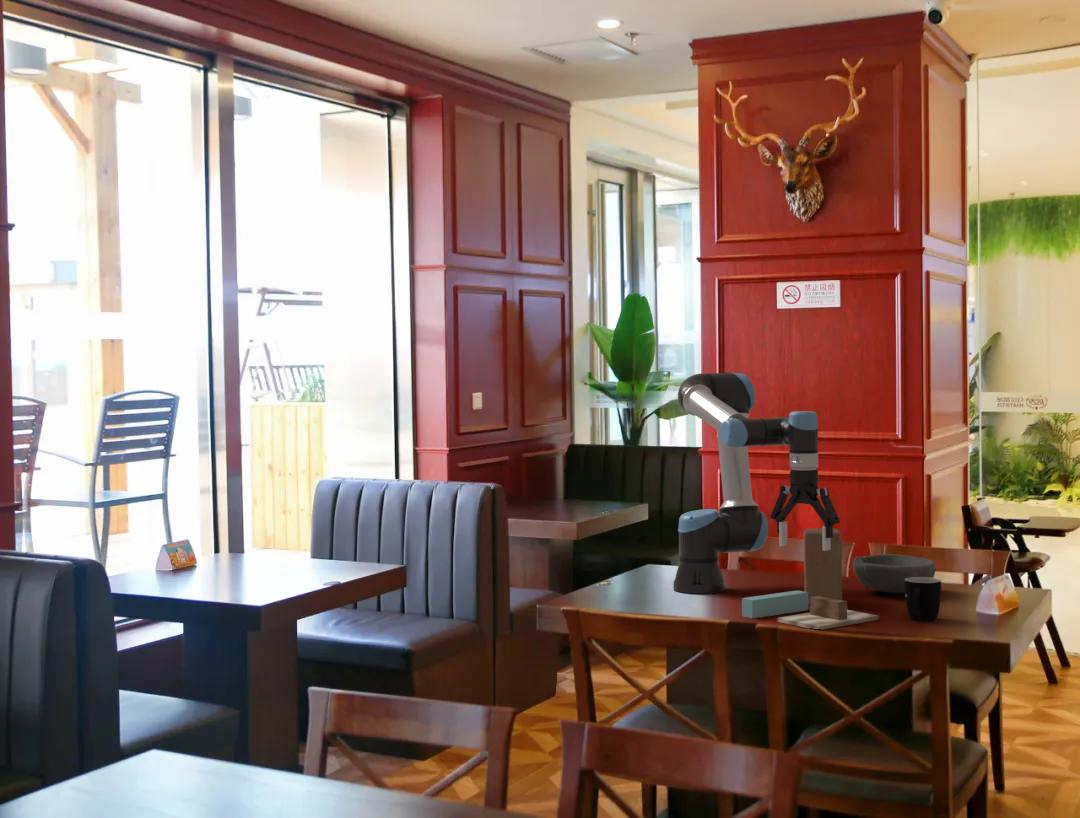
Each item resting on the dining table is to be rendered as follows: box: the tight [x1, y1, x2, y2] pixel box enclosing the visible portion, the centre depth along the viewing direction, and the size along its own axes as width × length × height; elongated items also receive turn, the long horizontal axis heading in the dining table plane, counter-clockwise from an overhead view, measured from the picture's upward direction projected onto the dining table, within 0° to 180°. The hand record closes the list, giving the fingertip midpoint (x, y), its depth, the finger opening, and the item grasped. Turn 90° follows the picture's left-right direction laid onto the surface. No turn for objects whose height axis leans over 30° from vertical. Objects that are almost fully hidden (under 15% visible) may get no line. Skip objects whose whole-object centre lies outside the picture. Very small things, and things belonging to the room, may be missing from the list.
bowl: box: [851, 553, 937, 595], centre depth 361 cm, size 23×22×10 cm
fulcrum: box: [777, 596, 880, 630], centre depth 322 cm, size 14×22×6 cm, turn 124°
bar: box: [741, 590, 809, 619], centre depth 334 cm, size 4×20×5 cm, turn 123°
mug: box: [904, 577, 942, 622], centre depth 321 cm, size 12×9×10 cm
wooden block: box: [803, 528, 843, 606], centre depth 348 cm, size 10×10×20 cm
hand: (804, 548), depth 337 cm, fingers open, 13 cm apart
